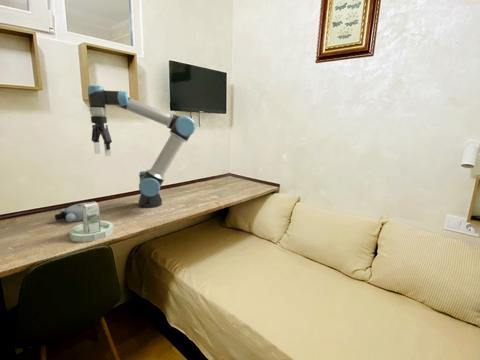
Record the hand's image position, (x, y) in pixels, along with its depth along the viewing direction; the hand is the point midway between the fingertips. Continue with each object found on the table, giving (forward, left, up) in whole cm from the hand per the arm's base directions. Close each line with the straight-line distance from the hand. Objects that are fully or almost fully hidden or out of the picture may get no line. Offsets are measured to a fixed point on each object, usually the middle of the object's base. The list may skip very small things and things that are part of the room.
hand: (102, 154), depth 142 cm
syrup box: (+16, +22, -35) cm, 44 cm away
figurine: (+15, -6, -36) cm, 39 cm away
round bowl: (+16, +22, -36) cm, 45 cm away
